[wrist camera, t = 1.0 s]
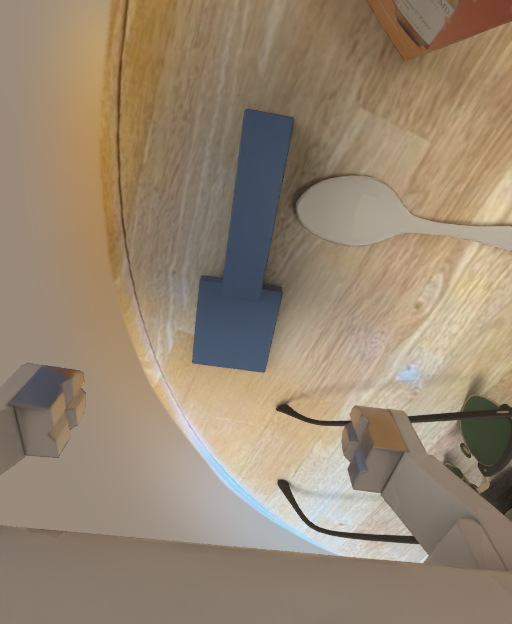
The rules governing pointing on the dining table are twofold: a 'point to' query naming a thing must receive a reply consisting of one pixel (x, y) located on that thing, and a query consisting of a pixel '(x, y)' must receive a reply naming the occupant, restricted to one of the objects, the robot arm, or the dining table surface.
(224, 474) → the dining table surface
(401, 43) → the small box
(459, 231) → the spoon
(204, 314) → the blue stepped bar
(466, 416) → the sunglasses
